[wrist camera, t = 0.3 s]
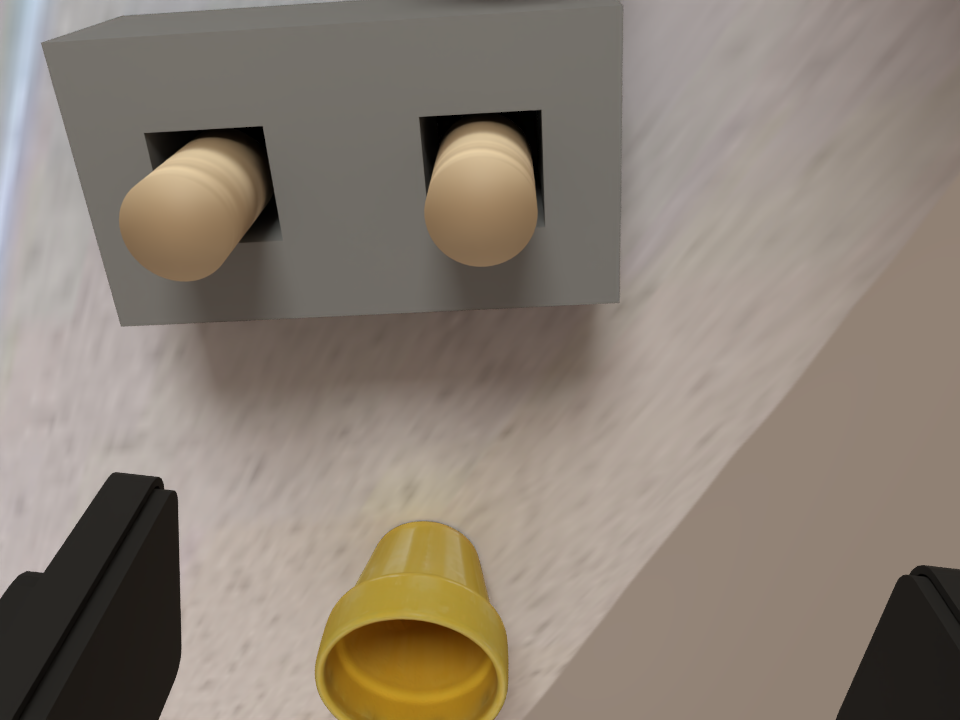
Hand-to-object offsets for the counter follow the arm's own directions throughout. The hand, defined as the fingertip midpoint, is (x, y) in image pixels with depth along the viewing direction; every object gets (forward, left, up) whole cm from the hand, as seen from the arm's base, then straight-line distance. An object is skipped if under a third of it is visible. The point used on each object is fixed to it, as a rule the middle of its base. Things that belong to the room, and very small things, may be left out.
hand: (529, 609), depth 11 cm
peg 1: (+2, -12, -28) cm, 31 cm away
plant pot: (+29, -7, -35) cm, 45 cm away
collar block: (+2, -7, -34) cm, 35 cm away
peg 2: (+2, -1, -28) cm, 28 cm away
